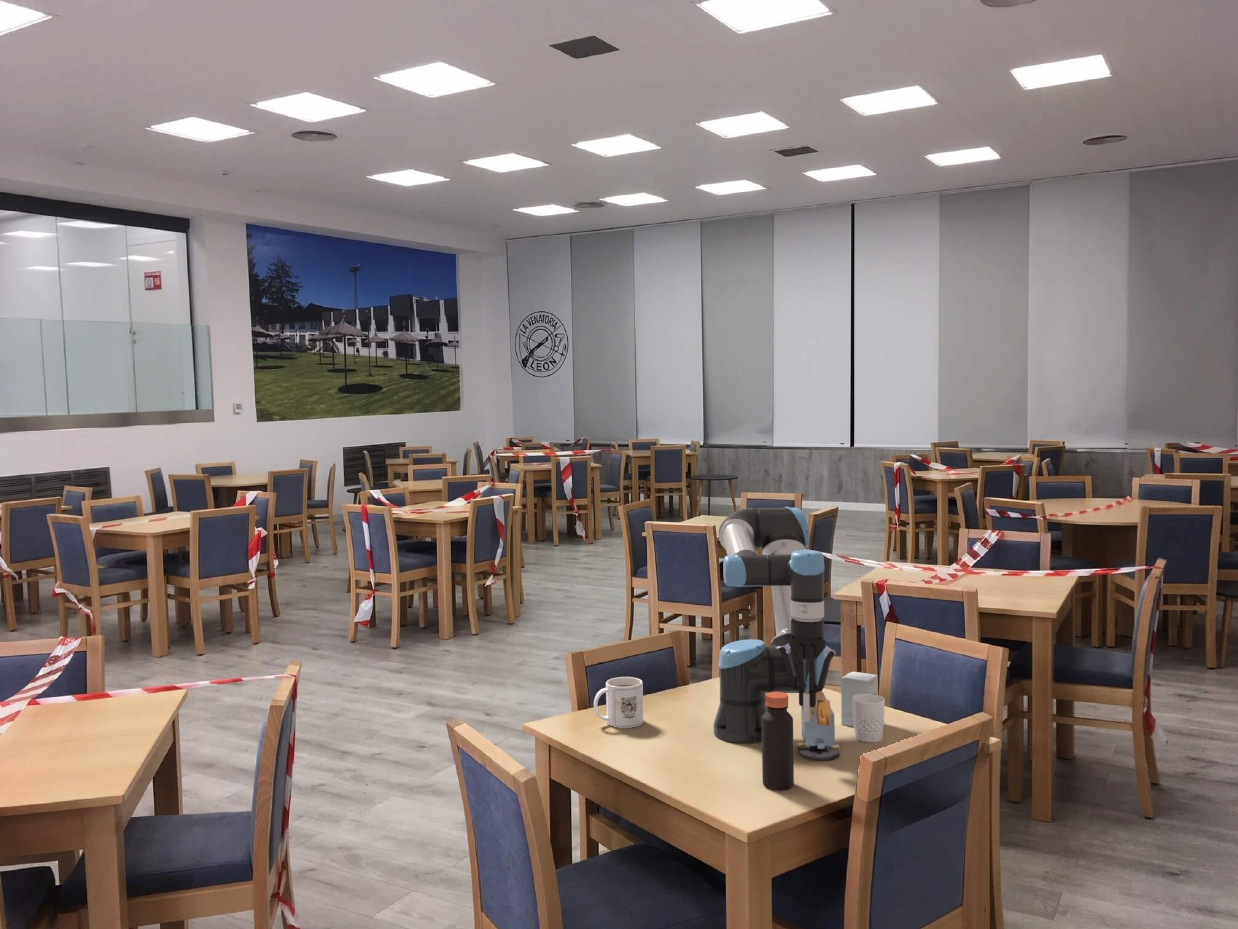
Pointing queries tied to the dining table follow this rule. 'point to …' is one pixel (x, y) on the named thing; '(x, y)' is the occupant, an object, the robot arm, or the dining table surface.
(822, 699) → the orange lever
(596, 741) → the dining table surface
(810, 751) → the dark grey cylinder
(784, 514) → the robot arm
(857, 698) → the white cup
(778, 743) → the bottle
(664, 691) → the dining table surface
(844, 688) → the supplement box
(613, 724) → the mug
